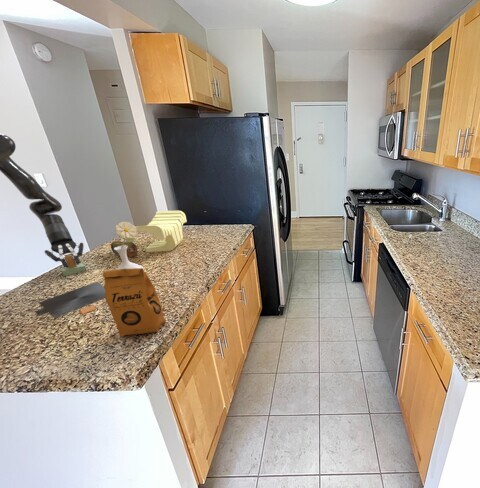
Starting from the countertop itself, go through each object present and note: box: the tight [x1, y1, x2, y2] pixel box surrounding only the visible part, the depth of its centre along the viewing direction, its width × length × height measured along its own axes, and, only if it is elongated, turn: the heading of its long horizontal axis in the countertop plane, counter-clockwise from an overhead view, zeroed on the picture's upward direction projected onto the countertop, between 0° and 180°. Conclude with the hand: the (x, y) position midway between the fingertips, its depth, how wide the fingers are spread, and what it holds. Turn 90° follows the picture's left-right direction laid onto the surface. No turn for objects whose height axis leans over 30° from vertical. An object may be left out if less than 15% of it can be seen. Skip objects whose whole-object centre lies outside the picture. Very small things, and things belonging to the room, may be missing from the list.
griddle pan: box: [34, 281, 106, 319], centre depth 101 cm, size 23×18×1 cm
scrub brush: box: [60, 253, 87, 277], centre depth 121 cm, size 8×5×8 cm, turn 140°
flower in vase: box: [112, 221, 144, 270], centre depth 116 cm, size 13×11×25 cm
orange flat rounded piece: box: [79, 304, 98, 316], centre depth 93 cm, size 4×4×2 cm
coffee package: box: [102, 268, 166, 337], centre depth 82 cm, size 10×12×22 cm
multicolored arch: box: [110, 239, 139, 258], centre depth 138 cm, size 15×3×8 cm, turn 76°
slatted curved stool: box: [134, 209, 187, 253], centre depth 148 cm, size 30×16×18 cm, turn 6°
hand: (72, 265), depth 119 cm, fingers open, 3 cm apart
